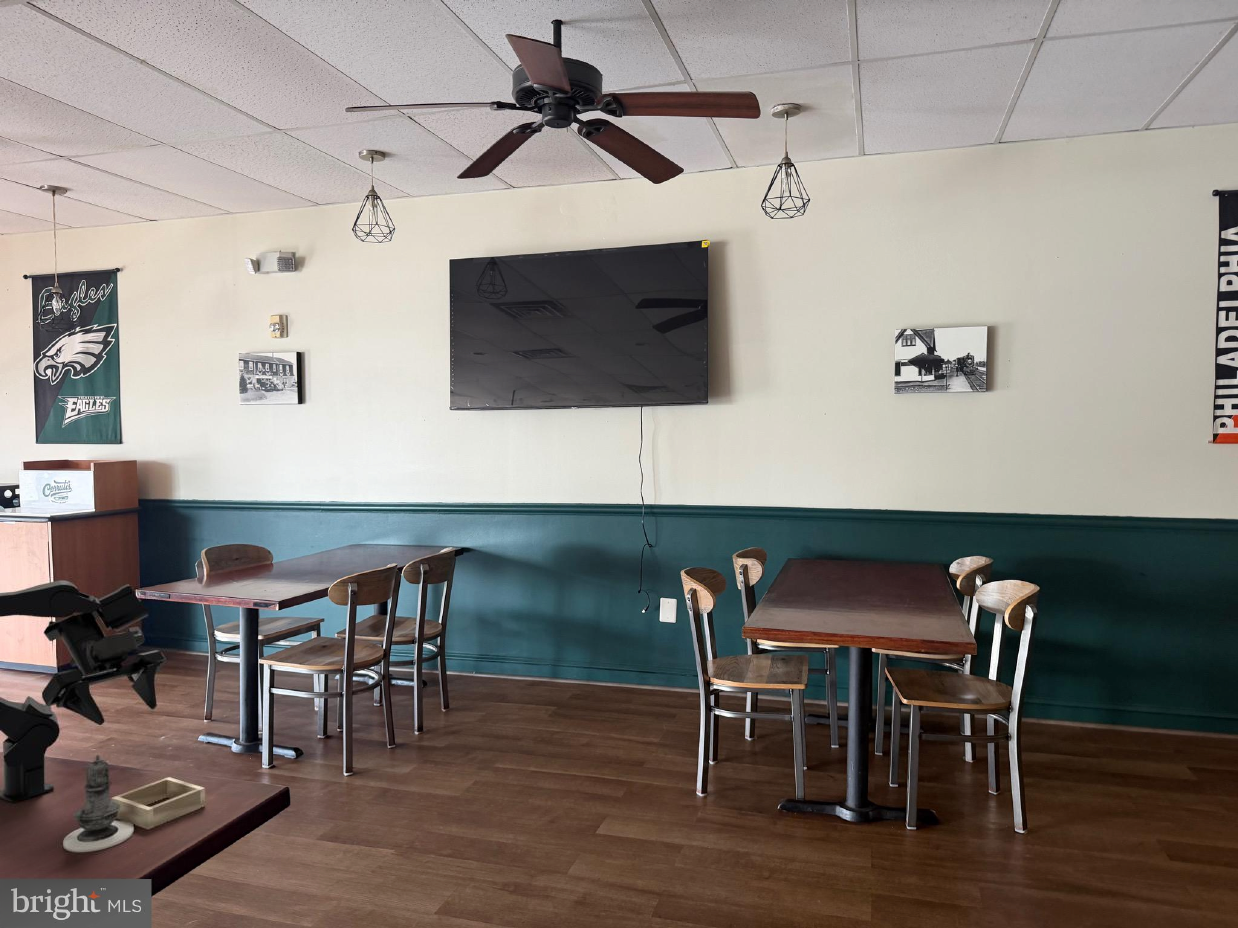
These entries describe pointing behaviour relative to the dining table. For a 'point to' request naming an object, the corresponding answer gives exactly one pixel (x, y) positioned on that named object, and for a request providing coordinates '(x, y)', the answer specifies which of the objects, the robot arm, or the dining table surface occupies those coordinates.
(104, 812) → the grey tall domed piece
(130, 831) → the coaster
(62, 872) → the dining table surface
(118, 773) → the dining table surface
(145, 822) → the birch holder
